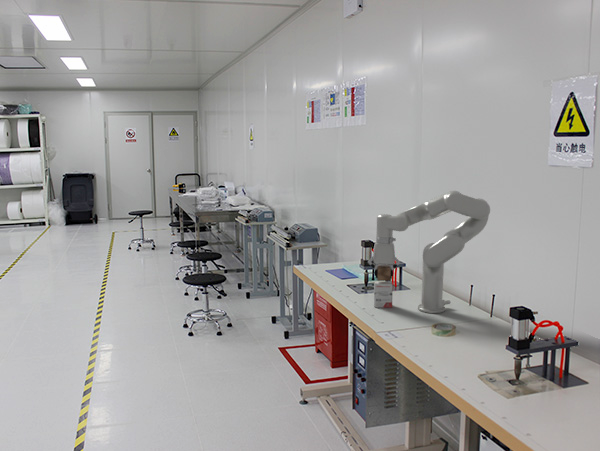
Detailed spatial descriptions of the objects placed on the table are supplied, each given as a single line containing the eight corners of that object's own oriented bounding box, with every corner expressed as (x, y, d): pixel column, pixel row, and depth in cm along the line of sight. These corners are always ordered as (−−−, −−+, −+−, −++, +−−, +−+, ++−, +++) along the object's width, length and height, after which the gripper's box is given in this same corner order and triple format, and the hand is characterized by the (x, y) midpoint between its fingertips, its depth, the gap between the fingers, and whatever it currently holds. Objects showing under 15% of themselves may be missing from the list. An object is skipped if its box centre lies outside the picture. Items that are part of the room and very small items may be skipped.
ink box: (391, 305, 261) (392, 281, 259) (392, 307, 256) (392, 283, 254) (373, 304, 262) (374, 280, 260) (373, 307, 257) (374, 283, 255)
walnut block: (389, 277, 259) (389, 265, 259) (390, 280, 254) (390, 268, 253) (376, 277, 260) (377, 265, 259) (377, 280, 254) (377, 268, 253)
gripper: (401, 239, 257) (400, 276, 260) (365, 239, 258) (365, 275, 261) (403, 242, 250) (402, 279, 252) (366, 241, 251) (365, 279, 254)
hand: (383, 277), depth 257 cm, fingers closed on walnut block, 6 cm apart
